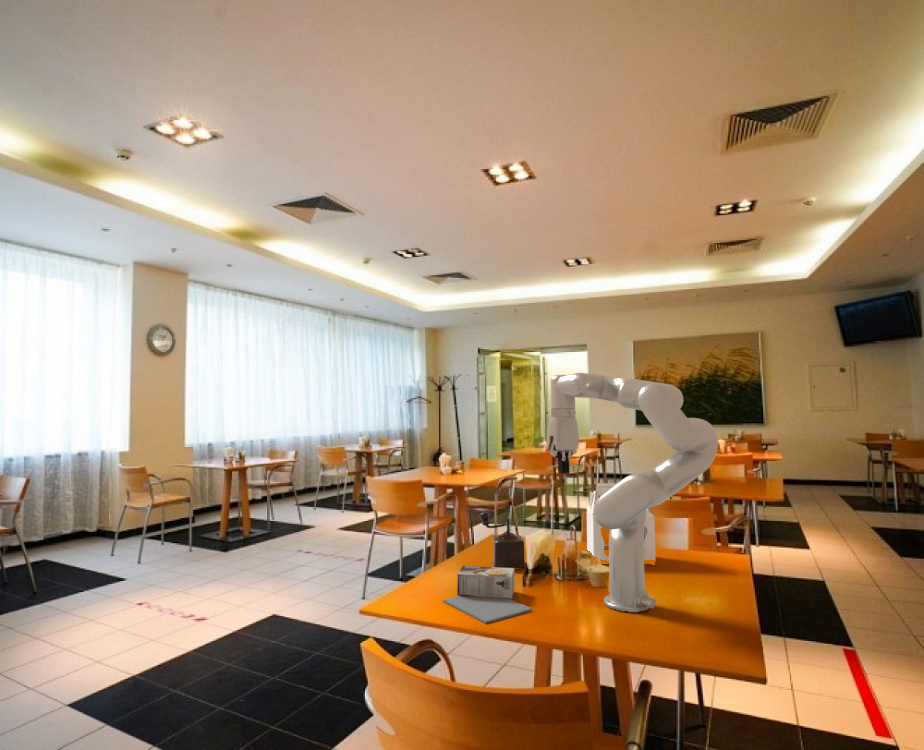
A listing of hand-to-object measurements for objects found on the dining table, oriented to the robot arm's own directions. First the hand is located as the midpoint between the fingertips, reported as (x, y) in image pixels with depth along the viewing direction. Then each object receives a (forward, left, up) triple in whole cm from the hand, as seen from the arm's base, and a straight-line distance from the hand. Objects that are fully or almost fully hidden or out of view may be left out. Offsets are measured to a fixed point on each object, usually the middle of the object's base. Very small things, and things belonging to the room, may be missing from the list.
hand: (563, 473), depth 170 cm
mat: (+2, +29, -35) cm, 46 cm away
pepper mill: (+32, -1, -35) cm, 48 cm away
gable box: (+12, -41, -35) cm, 55 cm away
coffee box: (+4, +17, -31) cm, 36 cm away
